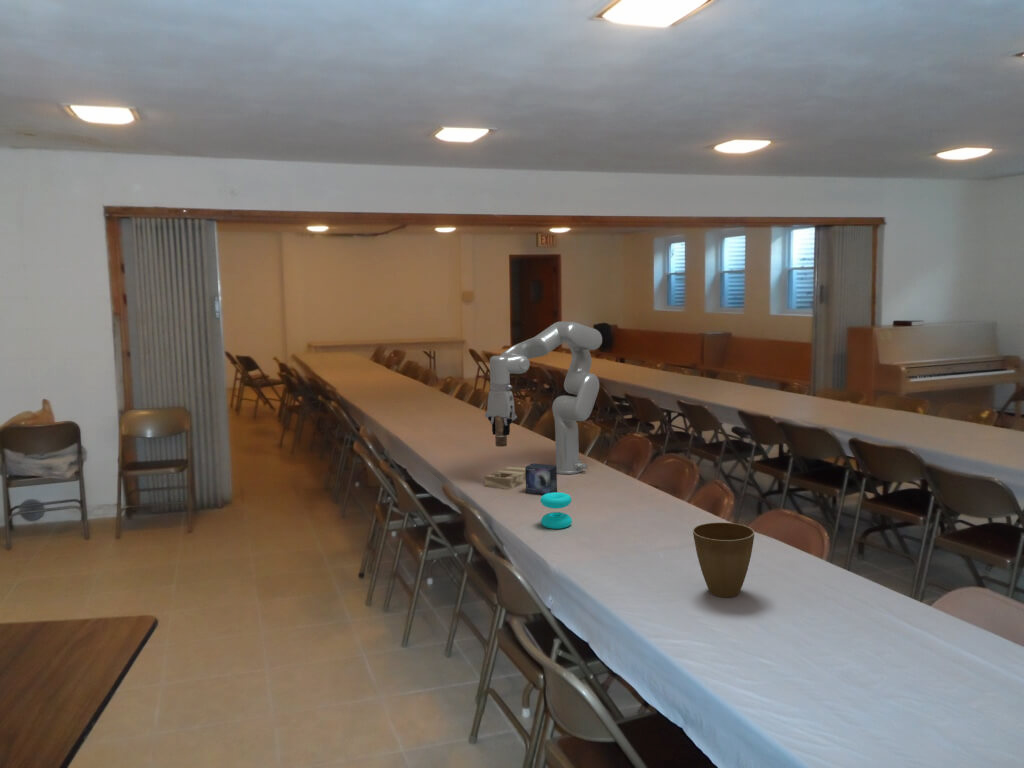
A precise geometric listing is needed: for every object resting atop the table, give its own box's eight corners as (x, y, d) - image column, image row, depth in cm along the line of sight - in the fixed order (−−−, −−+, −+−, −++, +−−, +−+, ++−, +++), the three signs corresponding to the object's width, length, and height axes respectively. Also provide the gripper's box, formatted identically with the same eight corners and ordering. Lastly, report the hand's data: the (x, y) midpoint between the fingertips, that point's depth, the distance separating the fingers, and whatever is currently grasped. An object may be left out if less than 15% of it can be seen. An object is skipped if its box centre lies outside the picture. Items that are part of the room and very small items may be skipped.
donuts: (565, 490, 267) (575, 497, 257) (565, 519, 268) (576, 527, 259) (536, 493, 264) (545, 500, 255) (537, 522, 265) (546, 531, 256)
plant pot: (742, 579, 210) (743, 520, 208) (762, 602, 196) (763, 538, 193) (686, 582, 210) (686, 522, 208) (701, 604, 195) (701, 541, 193)
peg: (509, 445, 314) (508, 414, 312) (503, 447, 310) (502, 416, 308) (499, 444, 316) (498, 413, 314) (493, 446, 312) (492, 415, 311)
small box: (525, 493, 302) (524, 466, 301) (532, 489, 308) (531, 462, 306) (550, 496, 297) (549, 468, 296) (557, 492, 303) (557, 465, 301)
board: (511, 475, 331) (511, 465, 331) (535, 477, 325) (534, 468, 325) (485, 486, 314) (485, 476, 314) (509, 489, 308) (509, 479, 308)
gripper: (523, 387, 309) (524, 434, 311) (487, 385, 318) (488, 431, 320) (513, 390, 303) (514, 437, 305) (476, 387, 311) (477, 434, 314)
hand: (501, 434), depth 312 cm, fingers closed on peg, 4 cm apart
